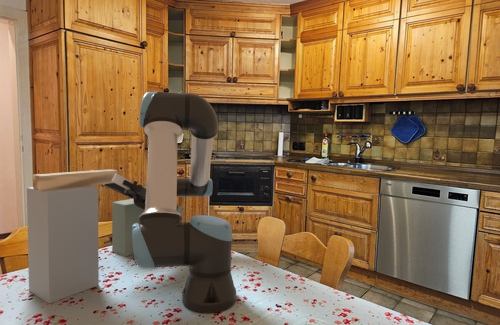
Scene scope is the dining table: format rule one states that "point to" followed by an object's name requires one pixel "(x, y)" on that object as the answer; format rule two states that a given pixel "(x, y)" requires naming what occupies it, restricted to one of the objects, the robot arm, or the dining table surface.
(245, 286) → the dining table surface
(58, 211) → the stand
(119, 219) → the sage green block
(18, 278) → the dining table surface
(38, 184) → the tan wooden bar
